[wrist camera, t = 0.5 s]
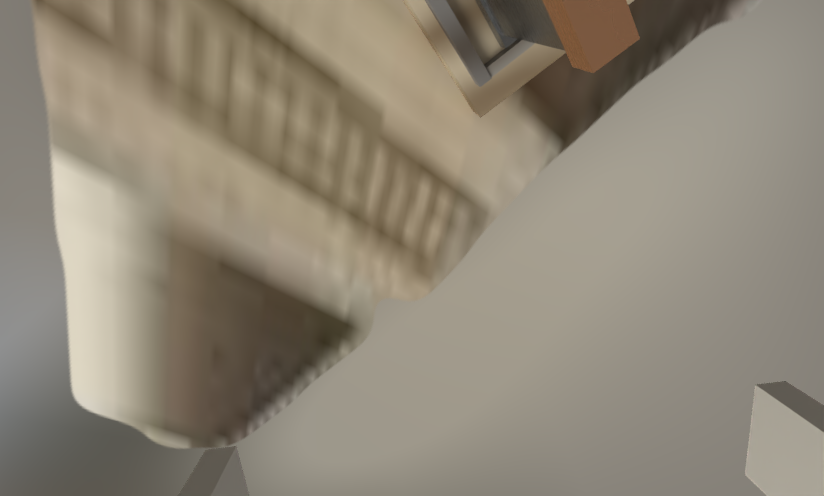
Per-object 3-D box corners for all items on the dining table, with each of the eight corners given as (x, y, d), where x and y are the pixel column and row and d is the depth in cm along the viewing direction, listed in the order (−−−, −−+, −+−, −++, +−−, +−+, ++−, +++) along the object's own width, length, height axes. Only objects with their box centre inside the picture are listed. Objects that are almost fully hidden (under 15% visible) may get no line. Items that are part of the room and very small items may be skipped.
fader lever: (466, -16, 29) (551, -22, 17) (495, -41, 28) (603, -64, 17) (500, 46, 31) (595, 76, 20) (528, 24, 30) (641, 42, 19)
